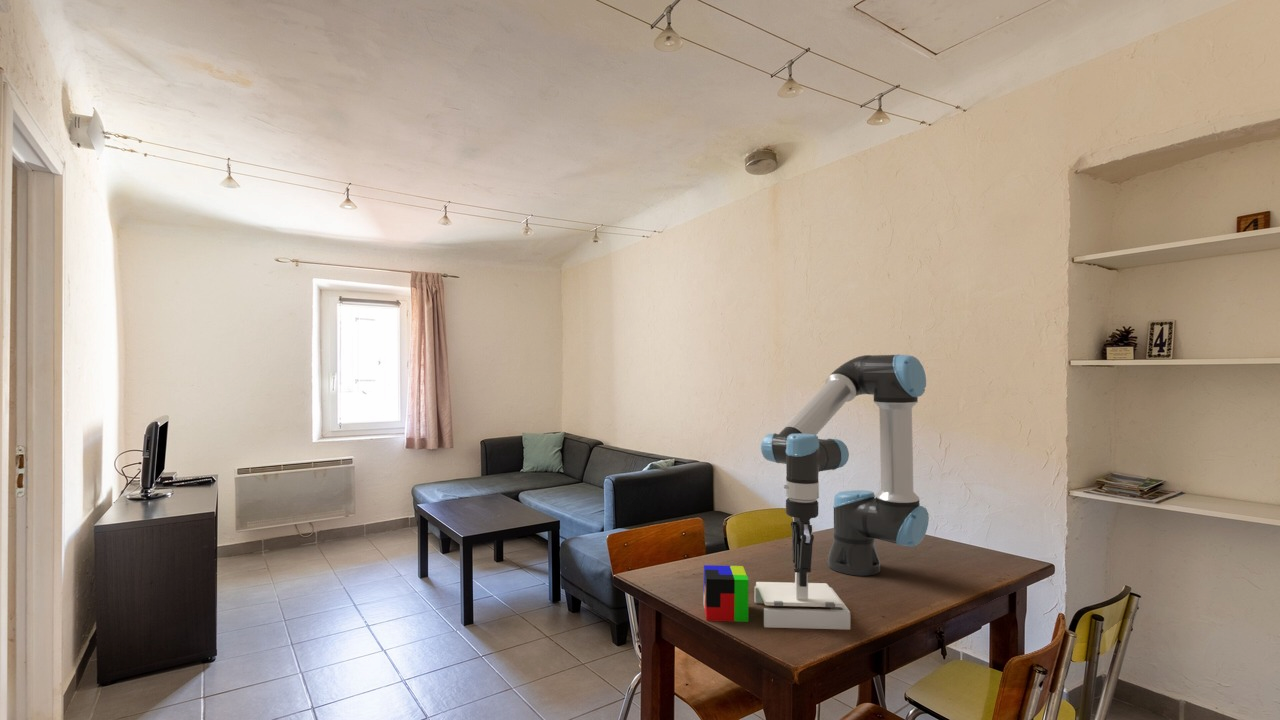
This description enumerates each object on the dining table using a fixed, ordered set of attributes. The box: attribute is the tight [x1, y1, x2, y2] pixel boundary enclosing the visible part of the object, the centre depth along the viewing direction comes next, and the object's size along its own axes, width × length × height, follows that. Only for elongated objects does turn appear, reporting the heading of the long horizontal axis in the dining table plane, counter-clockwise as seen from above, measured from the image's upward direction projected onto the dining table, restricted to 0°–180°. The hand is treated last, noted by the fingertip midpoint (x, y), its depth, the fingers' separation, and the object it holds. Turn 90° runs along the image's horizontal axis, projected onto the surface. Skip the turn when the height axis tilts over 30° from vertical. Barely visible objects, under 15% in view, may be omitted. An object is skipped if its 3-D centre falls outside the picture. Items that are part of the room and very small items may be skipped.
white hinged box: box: [754, 585, 851, 630], centre depth 146 cm, size 20×15×4 cm
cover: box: [755, 581, 844, 608], centre depth 146 cm, size 18×15×1 cm
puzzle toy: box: [703, 564, 750, 623], centre depth 147 cm, size 10×10×10 cm
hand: (801, 598), depth 142 cm, fingers closed
